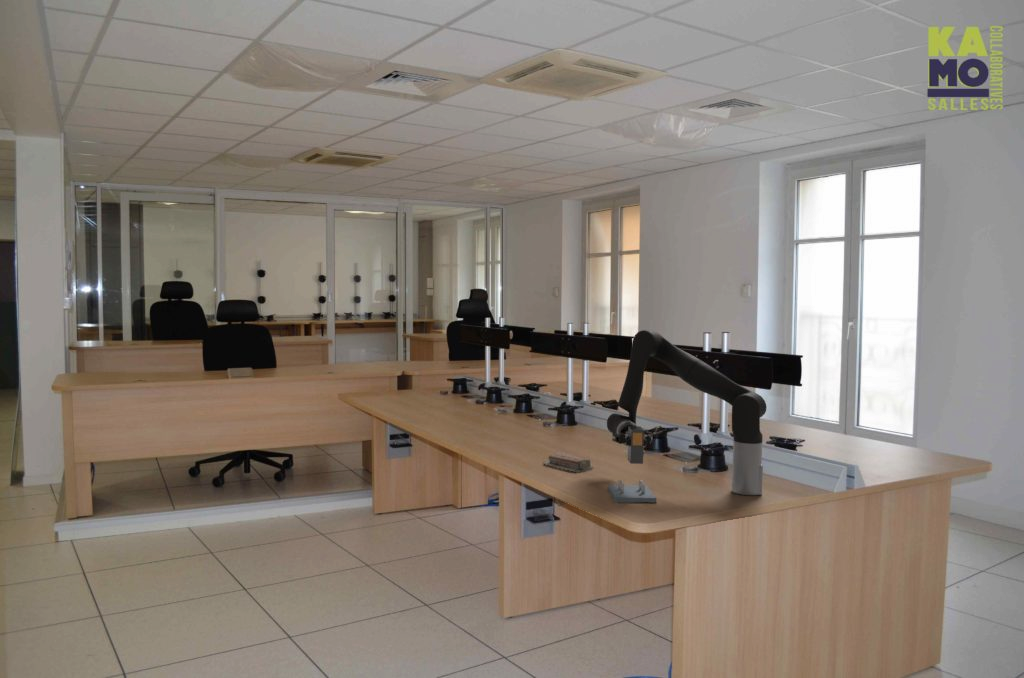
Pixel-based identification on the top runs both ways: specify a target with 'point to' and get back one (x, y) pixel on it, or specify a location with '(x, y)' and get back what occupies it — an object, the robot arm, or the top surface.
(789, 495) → the top surface
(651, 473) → the top surface
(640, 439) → the block
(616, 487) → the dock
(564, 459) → the packaged product
